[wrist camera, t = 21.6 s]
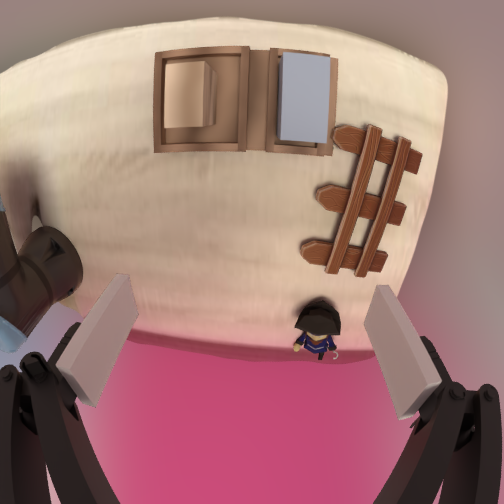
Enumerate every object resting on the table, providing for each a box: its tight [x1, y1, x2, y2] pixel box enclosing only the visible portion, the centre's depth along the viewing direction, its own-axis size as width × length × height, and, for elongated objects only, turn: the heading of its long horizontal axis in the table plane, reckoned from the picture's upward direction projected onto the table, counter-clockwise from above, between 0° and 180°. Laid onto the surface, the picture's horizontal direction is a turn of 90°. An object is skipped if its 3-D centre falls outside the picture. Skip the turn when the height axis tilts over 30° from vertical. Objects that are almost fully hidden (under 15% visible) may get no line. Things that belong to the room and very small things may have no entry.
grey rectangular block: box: [276, 52, 330, 144], centre depth 28 cm, size 5×10×7 cm, turn 179°
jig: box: [153, 46, 338, 156], centre depth 31 cm, size 24×14×3 cm, turn 88°
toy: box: [294, 301, 341, 360], centre depth 48 cm, size 9×6×15 cm
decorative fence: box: [300, 124, 423, 277], centre depth 37 cm, size 23×2×15 cm
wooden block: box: [164, 61, 218, 128], centre depth 27 cm, size 4×7×9 cm, turn 178°
